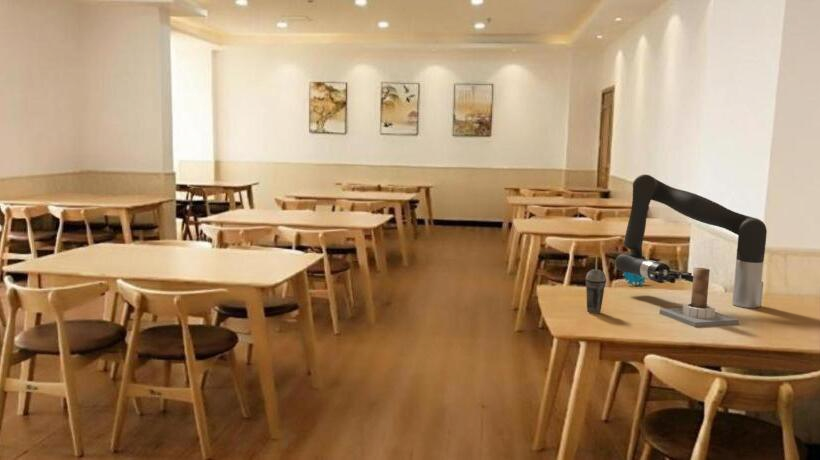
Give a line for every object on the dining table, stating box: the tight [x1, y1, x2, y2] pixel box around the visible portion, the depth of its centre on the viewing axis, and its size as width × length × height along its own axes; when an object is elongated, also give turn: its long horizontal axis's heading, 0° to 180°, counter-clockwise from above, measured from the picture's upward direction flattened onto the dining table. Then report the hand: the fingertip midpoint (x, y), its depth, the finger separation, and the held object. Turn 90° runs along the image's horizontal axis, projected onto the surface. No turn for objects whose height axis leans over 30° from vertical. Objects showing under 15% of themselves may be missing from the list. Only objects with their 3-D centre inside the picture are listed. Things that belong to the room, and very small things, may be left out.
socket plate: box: [658, 302, 740, 328], centre depth 235 cm, size 18×18×4 cm
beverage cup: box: [584, 256, 607, 315], centre depth 238 cm, size 7×7×20 cm
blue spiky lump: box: [622, 272, 647, 287], centre depth 291 cm, size 11×6×10 cm
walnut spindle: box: [690, 267, 711, 309], centre depth 234 cm, size 5×5×16 cm
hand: (684, 279), depth 241 cm, fingers open, 8 cm apart
